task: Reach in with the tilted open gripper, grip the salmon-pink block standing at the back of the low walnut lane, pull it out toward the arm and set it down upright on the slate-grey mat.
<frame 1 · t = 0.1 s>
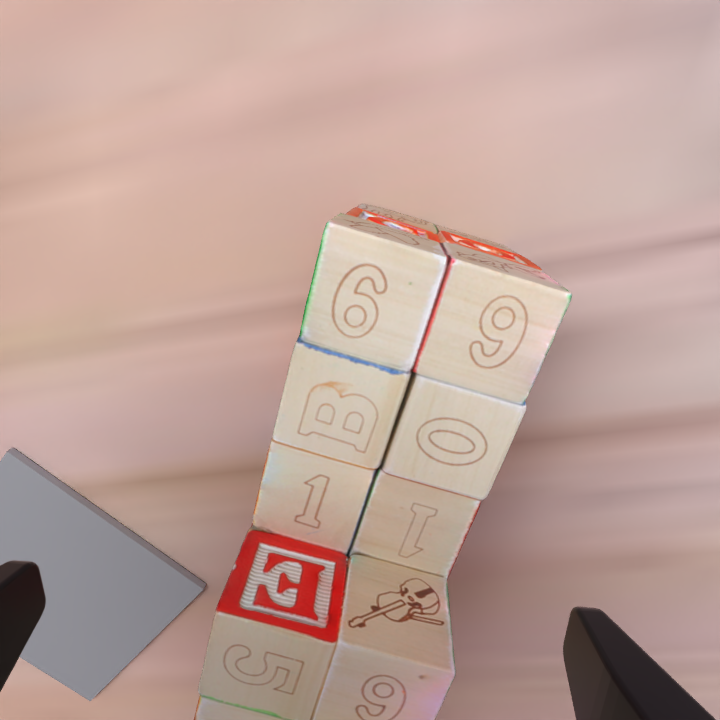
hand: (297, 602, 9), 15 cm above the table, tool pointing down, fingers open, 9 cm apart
stack of blocks: (359, 443, 24), on the table
slate-grey mat: (57, 583, 28), on the table
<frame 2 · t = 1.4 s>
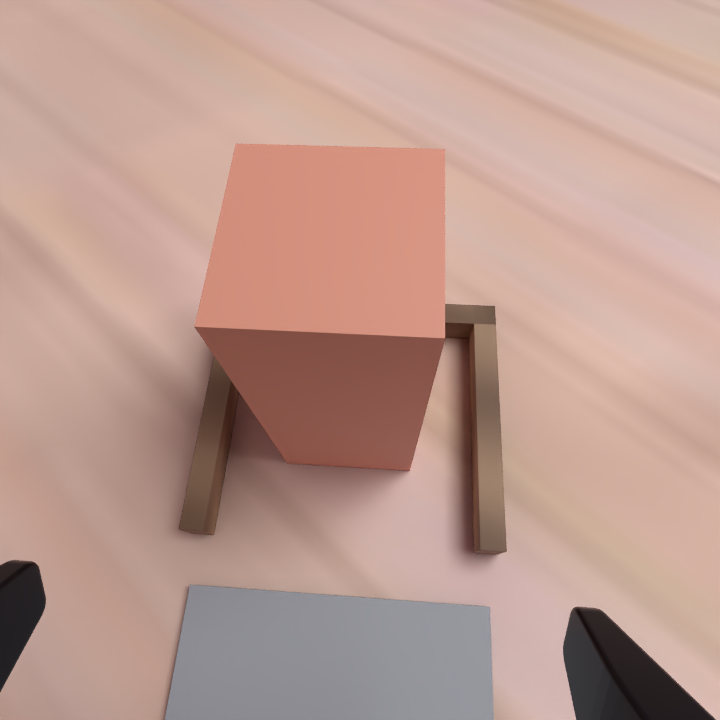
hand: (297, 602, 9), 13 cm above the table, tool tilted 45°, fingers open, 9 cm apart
salmon-pink block: (344, 348, 18), in the walnut lane
walnut lane: (352, 408, 24), on the table
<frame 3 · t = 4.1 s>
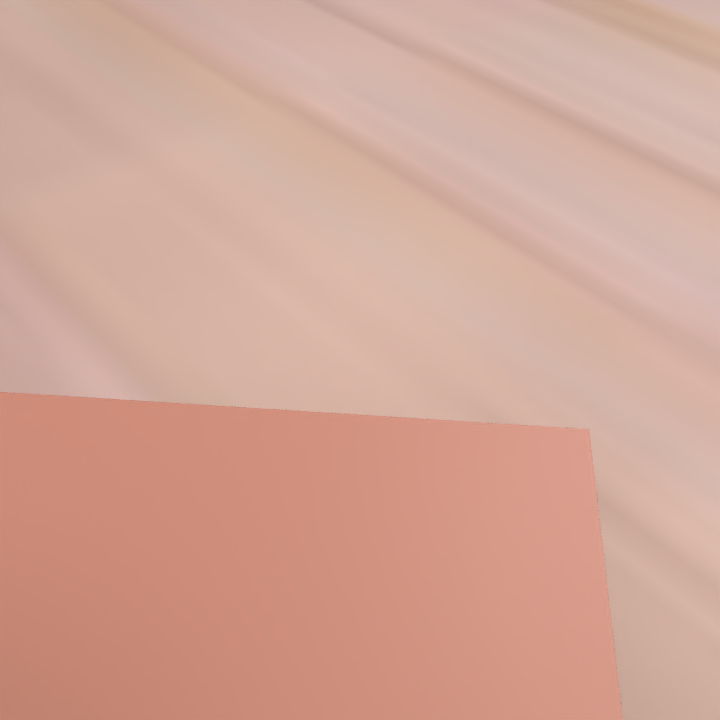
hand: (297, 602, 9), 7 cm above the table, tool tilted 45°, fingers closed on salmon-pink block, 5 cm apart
salmon-pink block: (291, 694, 9), in the walnut lane, touching gripper
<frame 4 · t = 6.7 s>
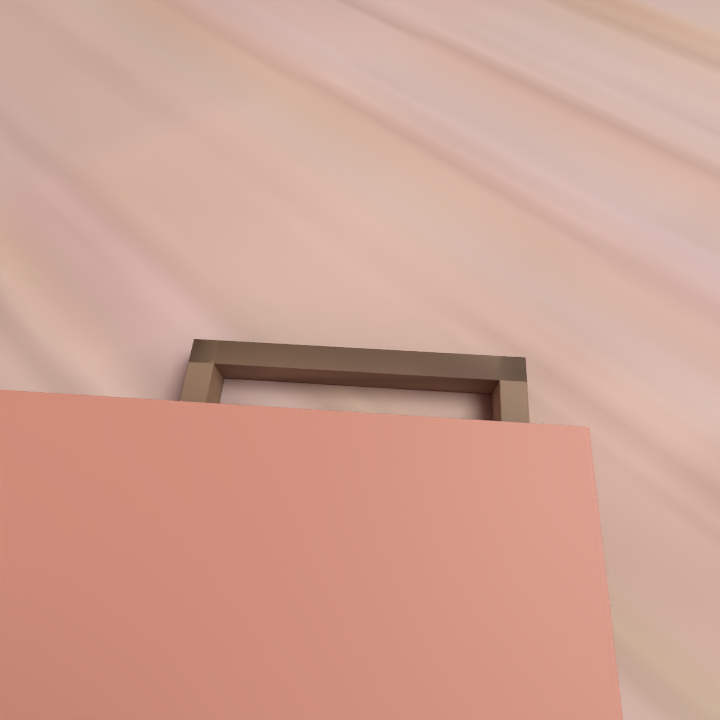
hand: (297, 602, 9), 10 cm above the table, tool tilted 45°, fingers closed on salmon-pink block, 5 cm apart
salmon-pink block: (291, 693, 9), point 10 cm above the table, touching gripper
walnut lane: (347, 484, 19), on the table
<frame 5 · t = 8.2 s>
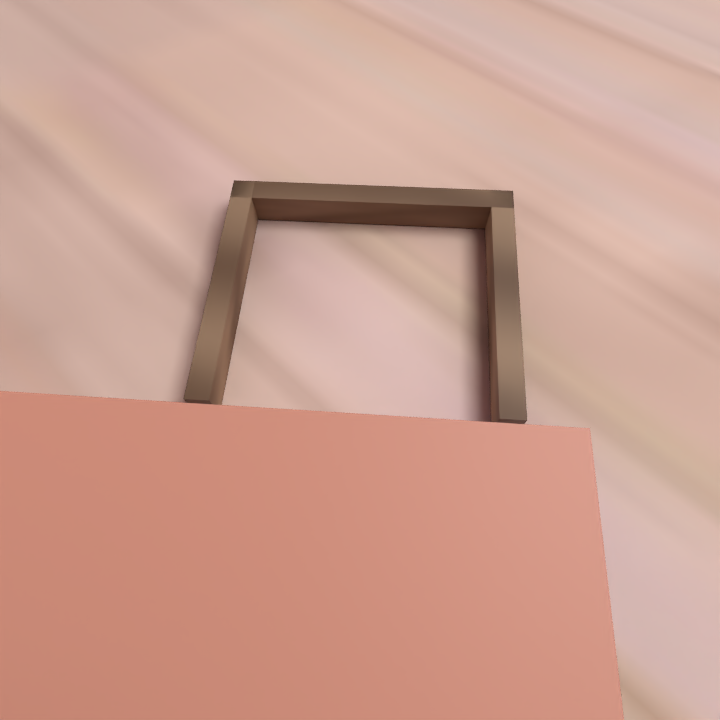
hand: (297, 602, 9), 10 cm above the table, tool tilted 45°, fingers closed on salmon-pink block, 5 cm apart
salmon-pink block: (291, 695, 9), point 10 cm above the table, touching gripper
walnut lane: (364, 294, 23), on the table
when the fingers open (8 cm above the table, at t = 9.4 s): salmon-pink block stays where it is, resting on slate-grey mat.
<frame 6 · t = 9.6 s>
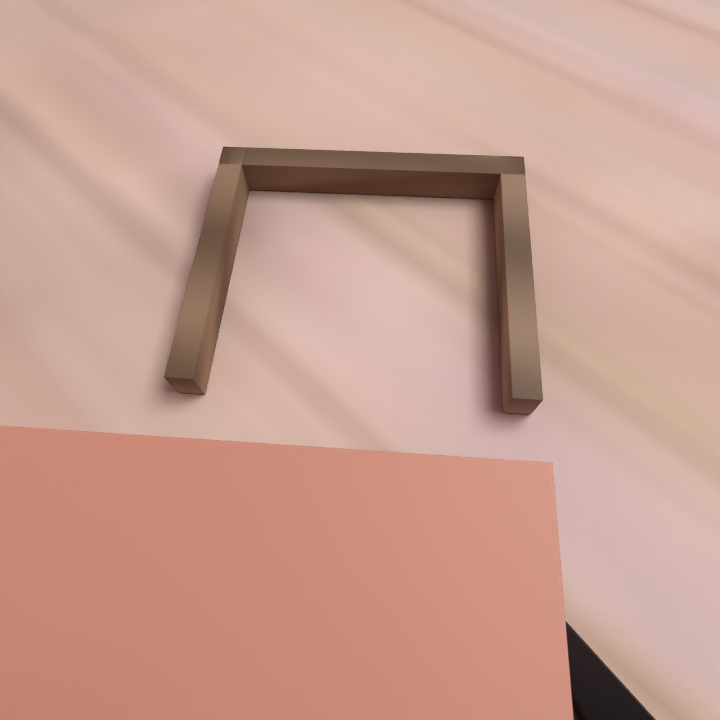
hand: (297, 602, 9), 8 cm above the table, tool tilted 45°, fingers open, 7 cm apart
salmon-pink block: (298, 688, 9), on the slate-grey mat
walnut lane: (363, 268, 21), on the table
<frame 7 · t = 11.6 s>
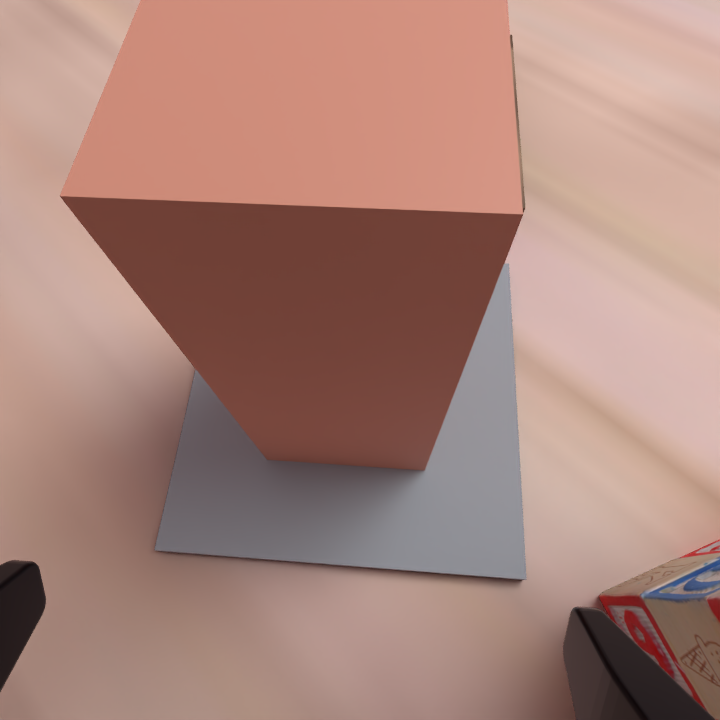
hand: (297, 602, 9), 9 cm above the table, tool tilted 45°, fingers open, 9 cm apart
salmon-pink block: (340, 298, 13), on the slate-grey mat
walnut lane: (375, 128, 25), on the table
slate-grey mat: (352, 394, 19), on the table
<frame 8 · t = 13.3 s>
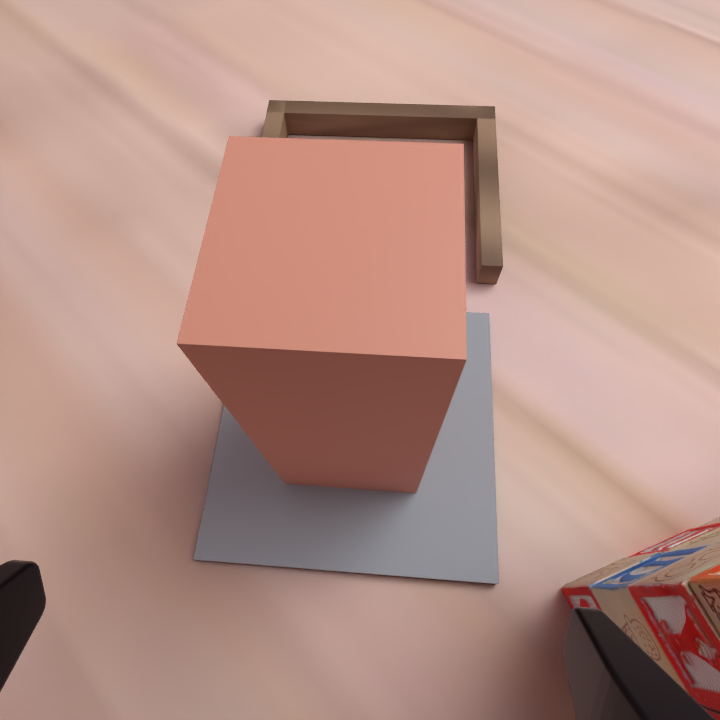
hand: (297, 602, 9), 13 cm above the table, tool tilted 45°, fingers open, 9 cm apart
salmon-pink block: (348, 363, 17), on the slate-grey mat
walnut lane: (375, 188, 29), on the table
slate-grey mat: (355, 427, 23), on the table
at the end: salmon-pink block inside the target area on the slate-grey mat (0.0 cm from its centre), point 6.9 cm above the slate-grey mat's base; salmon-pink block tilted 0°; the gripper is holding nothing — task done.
